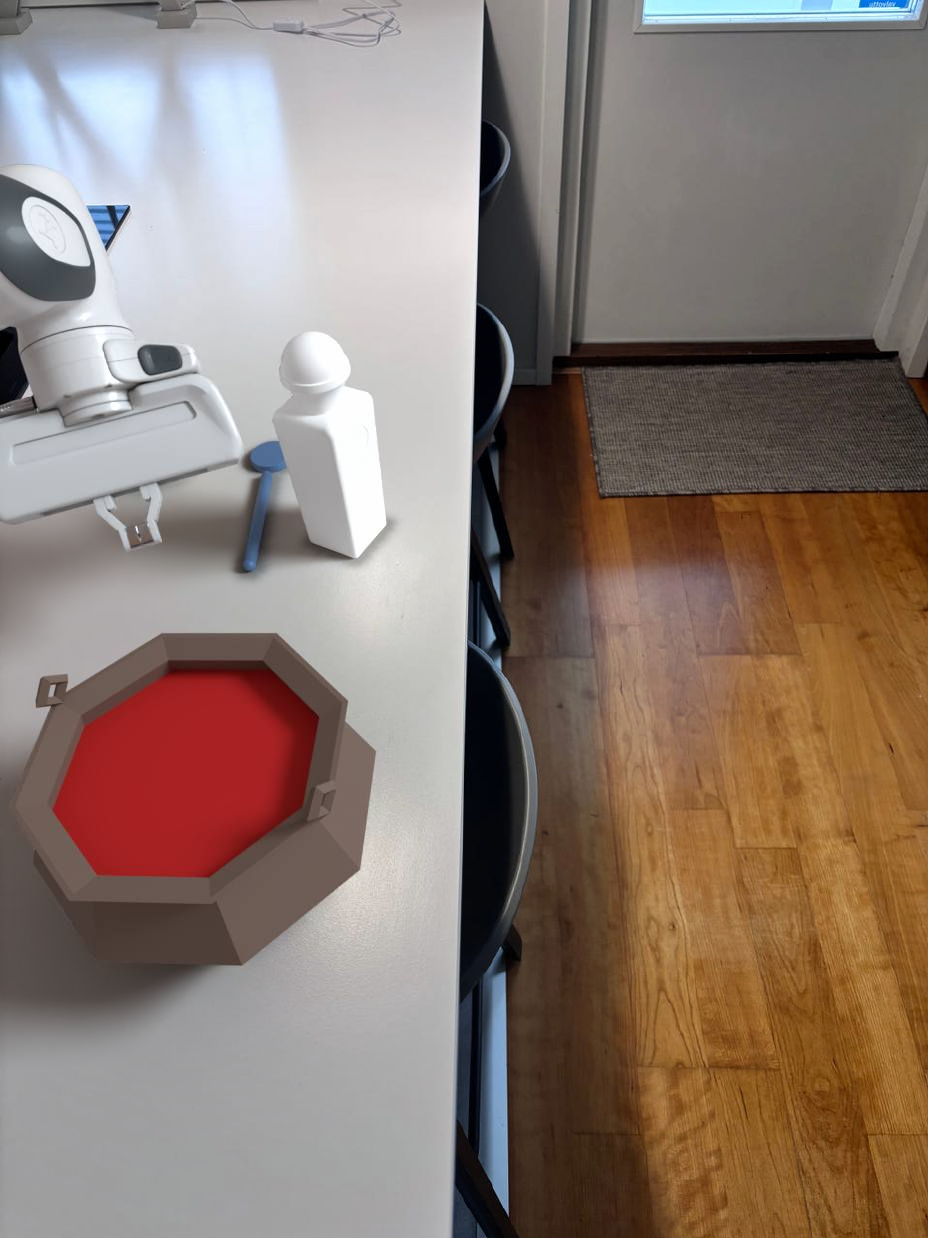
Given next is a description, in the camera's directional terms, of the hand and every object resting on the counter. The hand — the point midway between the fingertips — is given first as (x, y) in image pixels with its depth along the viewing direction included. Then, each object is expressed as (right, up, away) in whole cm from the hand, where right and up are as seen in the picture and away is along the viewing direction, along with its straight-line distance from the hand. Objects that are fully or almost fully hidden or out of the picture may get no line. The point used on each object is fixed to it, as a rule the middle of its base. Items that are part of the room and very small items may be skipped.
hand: (144, 547), depth 77 cm
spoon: (+5, +6, +21) cm, 22 cm away
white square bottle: (+15, +2, +17) cm, 22 cm away
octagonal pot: (+9, -24, -6) cm, 26 cm away
